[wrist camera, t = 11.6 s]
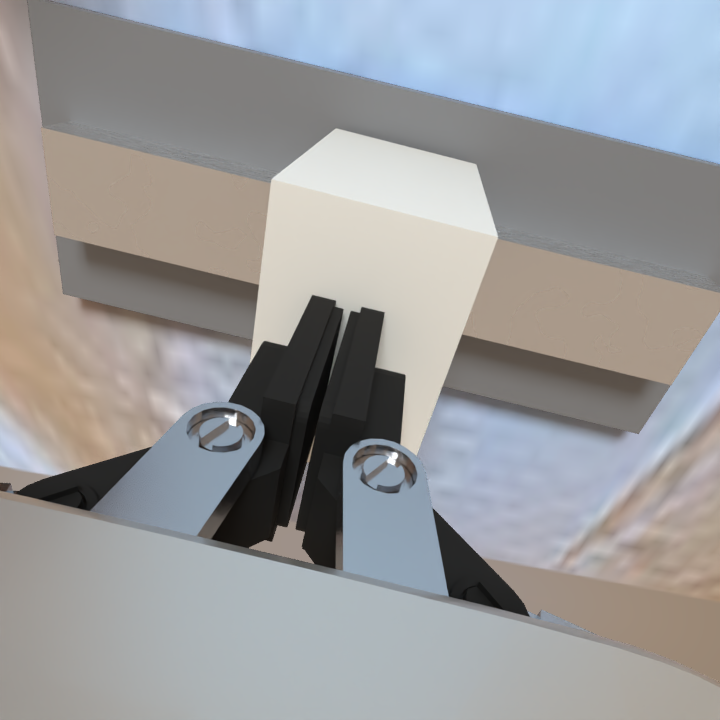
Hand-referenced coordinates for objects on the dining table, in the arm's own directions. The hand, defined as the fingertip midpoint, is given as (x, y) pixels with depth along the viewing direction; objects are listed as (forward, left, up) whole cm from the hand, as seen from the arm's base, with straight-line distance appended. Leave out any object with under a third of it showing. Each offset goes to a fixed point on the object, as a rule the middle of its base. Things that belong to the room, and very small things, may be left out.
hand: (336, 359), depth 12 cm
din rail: (0, 0, -9) cm, 9 cm away
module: (0, 0, -7) cm, 7 cm away
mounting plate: (0, 0, -9) cm, 9 cm away
